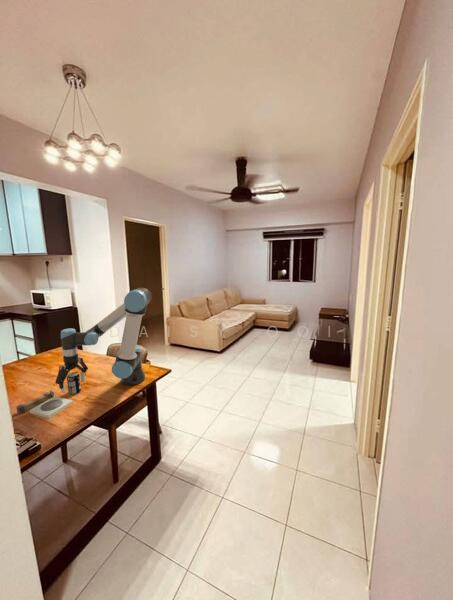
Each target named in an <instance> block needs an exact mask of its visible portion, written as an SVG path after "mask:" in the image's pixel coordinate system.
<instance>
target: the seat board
mask: <svg viewBox="0 0 453 600" xmlns="http://www.w3.org/2000/svg"><path fill="white" fill-rule="evenodd" d="M73 404H74V400H71V399H67V398H64V397H59V396H55V395H54V397H52V398H51V399H49V400H47V401H45V402H44V403H42V404H40V405H38V406H36V407H34V408H32V409H30V410H29V413H30V414H31V415H32V414H33V415H35V416H39V417H43V418H45V419H51V418H52V417H53V416H55V415H57V414H59V413H60V412H61V411H63V410H65V409H66V408H68V407H69V406H71V405H73Z"/></svg>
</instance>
